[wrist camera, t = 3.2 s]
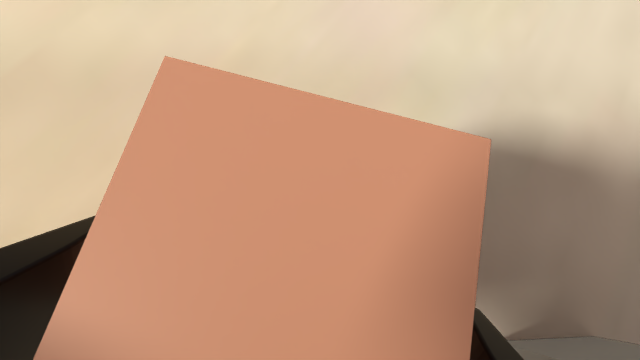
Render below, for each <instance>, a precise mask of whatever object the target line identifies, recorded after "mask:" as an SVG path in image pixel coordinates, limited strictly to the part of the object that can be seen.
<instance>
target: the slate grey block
mask: <svg viewBox="0 0 640 360" xmlns="http://www.w3.org/2000/svg"><path fill="white" fill-rule="evenodd" d="M507 341H508V342H509V343H510V344H511V345H512V347H513V348H514V349H515V350H516V351H517V352H518V353H519V354H520V355H521V357H522V358H523V359H524V360H640V345H638V344H633V343H627V342H622V341H616V340H611V339H605V338H600V337H594V336H591V337H570V338H549V339H528V340H507Z"/></svg>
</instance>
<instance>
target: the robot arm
mask: <svg viewBox="0 0 640 360" xmlns="http://www.w3.org/2000/svg"><path fill="white" fill-rule="evenodd" d="M94 218H95V216H93V217H90V218H87V219H84V220H81V221H78V222H75V223H72V224H69V225H66V226H64V227H61V228H58V229H55V230H52V231H49V232H46V233H43V234H40V235H37V236H34V237H32V238H29V239H26V240H23V241H20V242H17V243H14V244H11V245H8V246H5V247H2V248H0V360H33V359H34V356H35V354H36V352H37V349H38V347H39V345H40V342H41V340H42V338H43V336H44V333H45V331H46V329H47V326H48V324H49V322H50V319H51V317H52V315H53V313H54V310H55V308H56V306H57V303H58V301H59V299H60V296H61V294H62V292H63V290H64V287H65V285H66V283H67V280H68V278H69V276H70V273H71V271H72V269H73V267H74V264H75V262H76V260H77V257H78V255H79V253H80V250H81V248H82V246H83V244H84V241H85V239H86V237H87V234H88V232H89V230H90V227H91V225H92V223H93V221H94ZM470 360H524V359H523V358H522V357H521V355H520V354H519V353H518V352H517V351H516V350H515V349H514V348H513V347H512V345H511V344H510V343H509V342H508V341H507V340H506V339H505V338H504V337H503V335H502V334H501V333H500V332H499V331H498V330H497V329H496V328H495V327H494V325H493V324H492V323H491V322H490V321H489V320H488V319H487V318H486V317H485V315H484V314H483V313H482V312H481V311H480V310H479V309H477V308H475V310H474V320H473V330H472V341H471V351H470Z"/></svg>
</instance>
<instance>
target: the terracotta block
mask: <svg viewBox="0 0 640 360" xmlns="http://www.w3.org/2000/svg"><path fill="white" fill-rule="evenodd" d="M490 146H491V139H488V138H484V137H480V136H476V135H472V134H468V133H464V132H461V131H457V130H453V129H449V128H445V127H441V126H437V125H433V124H429V123H425V122H421V121H417V120H414V119H410V118H406V117H402V116H398V115H394V114H390V113H386V112H382V111H378V110H374V109H371V108H367V107H363V106H359V105H355V104H351V103H347V102H343V101H339V100H335V99H331V98H327V97H324V96H320V95H316V94H312V93H308V92H304V91H300V90H296V89H292V88H288V87H284V86H281V85H277V84H273V83H269V82H265V81H261V80H257V79H253V78H249V77H245V76H241V75H238V74H234V73H230V72H226V71H222V70H218V69H214V68H210V67H206V66H202V65H198V64H194V63H191V62H187V61H183V60H179V59H175V58H171V57H167V56H165V57H164V60H163V62H162V64H161V66H160V69H159V71H158V73H157V76H156V78H155V80H154V83H153V85H152V87H151V89H150V92H149V94H148V96H147V99H146V101H145V103H144V106H143V108H142V110H141V112H140V115H139V117H138V119H137V122H136V124H135V126H134V129H133V131H132V133H131V135H130V138H129V140H128V142H127V145H126V147H125V149H124V152H123V154H122V156H121V158H120V161H119V163H118V165H117V168H116V170H115V172H114V175H113V177H112V179H111V181H110V184H109V186H108V188H107V191H106V193H105V195H104V198H103V200H102V202H101V204H100V207H99V209H98V211H97V214H96V216H95V218H94V221H93V223H92V225H91V227H90V230H89V232H88V234H87V237H86V239H85V241H84V244H83V246H82V248H81V250H80V253H79V255H78V257H77V260H76V262H75V264H74V267H73V269H72V271H71V273H70V276H69V278H68V280H67V283H66V285H65V287H64V290H63V292H62V294H61V296H60V299H59V301H58V303H57V306H56V308H55V310H54V313H53V315H52V317H51V319H50V322H49V324H48V326H47V329H46V331H45V333H44V336H43V338H42V340H41V342H40V345H39V347H38V349H37V352H36V354H35V356H34V359H33V360H470V351H471V341H472V330H473V320H474V310H475V300H476V290H477V279H478V269H479V259H480V249H481V238H482V228H483V218H484V208H485V197H486V187H487V177H488V167H489V157H490Z"/></svg>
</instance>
